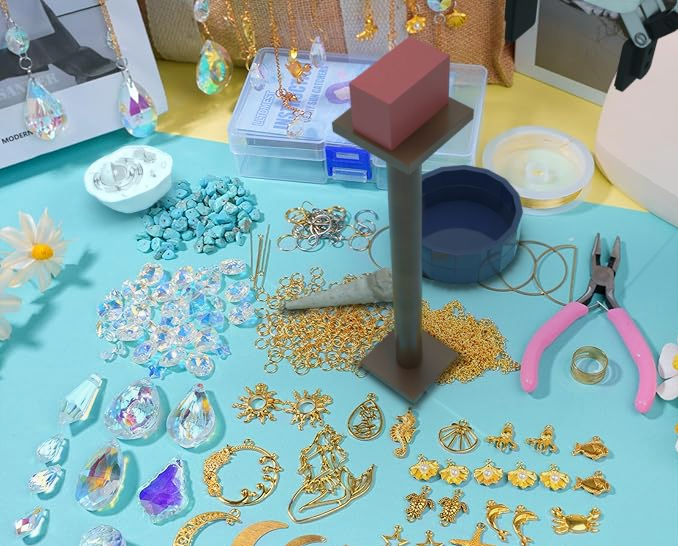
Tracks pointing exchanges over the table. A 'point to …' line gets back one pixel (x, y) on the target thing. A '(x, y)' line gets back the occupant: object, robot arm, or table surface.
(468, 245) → the pot
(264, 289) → the table surface
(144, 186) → the cell model
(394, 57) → the dusty pink block
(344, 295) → the seashell
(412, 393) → the stand
